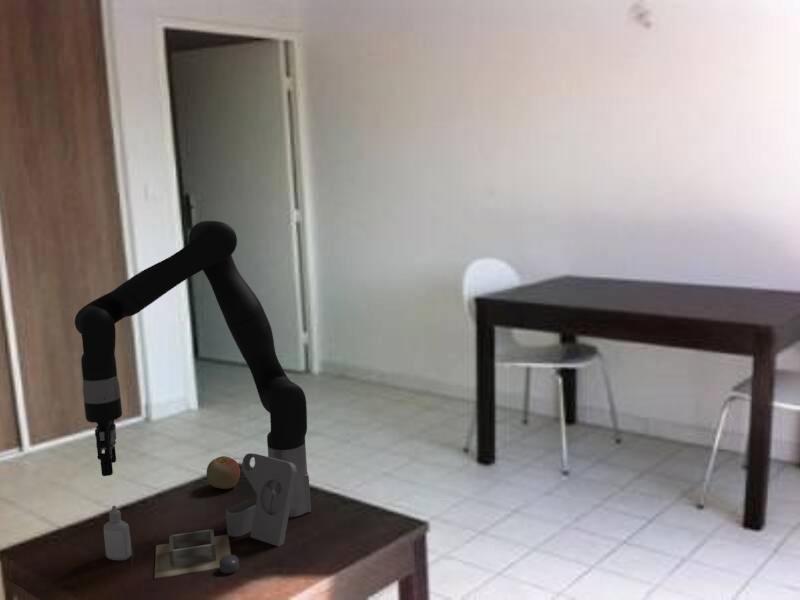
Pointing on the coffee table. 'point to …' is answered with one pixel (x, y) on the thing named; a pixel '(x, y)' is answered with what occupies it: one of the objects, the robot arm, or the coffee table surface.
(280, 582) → the coffee table surface
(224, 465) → the apple
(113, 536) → the eye dropper bottle
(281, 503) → the phone holder
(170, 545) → the glass box on tray
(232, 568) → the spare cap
